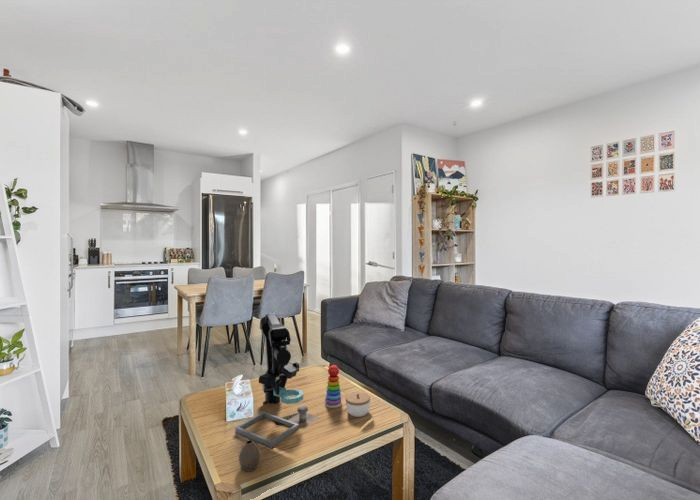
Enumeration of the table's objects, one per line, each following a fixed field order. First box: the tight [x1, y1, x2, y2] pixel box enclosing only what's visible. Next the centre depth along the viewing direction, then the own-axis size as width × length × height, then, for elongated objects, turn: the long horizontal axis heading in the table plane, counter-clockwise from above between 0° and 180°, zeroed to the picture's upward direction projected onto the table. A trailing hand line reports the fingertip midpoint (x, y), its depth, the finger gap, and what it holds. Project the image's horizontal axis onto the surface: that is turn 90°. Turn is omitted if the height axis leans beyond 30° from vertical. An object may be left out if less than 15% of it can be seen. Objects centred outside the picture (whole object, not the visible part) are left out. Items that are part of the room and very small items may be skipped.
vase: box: [238, 439, 261, 472], centre depth 116 cm, size 7×7×9 cm
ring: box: [274, 387, 304, 405], centre depth 143 cm, size 14×9×3 cm, turn 59°
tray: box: [234, 411, 300, 450], centre depth 137 cm, size 20×15×2 cm
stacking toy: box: [324, 364, 343, 409], centre depth 158 cm, size 8×8×19 cm
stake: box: [288, 405, 320, 429], centre depth 145 cm, size 10×10×6 cm
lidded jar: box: [345, 391, 371, 418], centre depth 150 cm, size 11×11×9 cm
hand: (279, 393), depth 145 cm, fingers closed on ring, 2 cm apart
